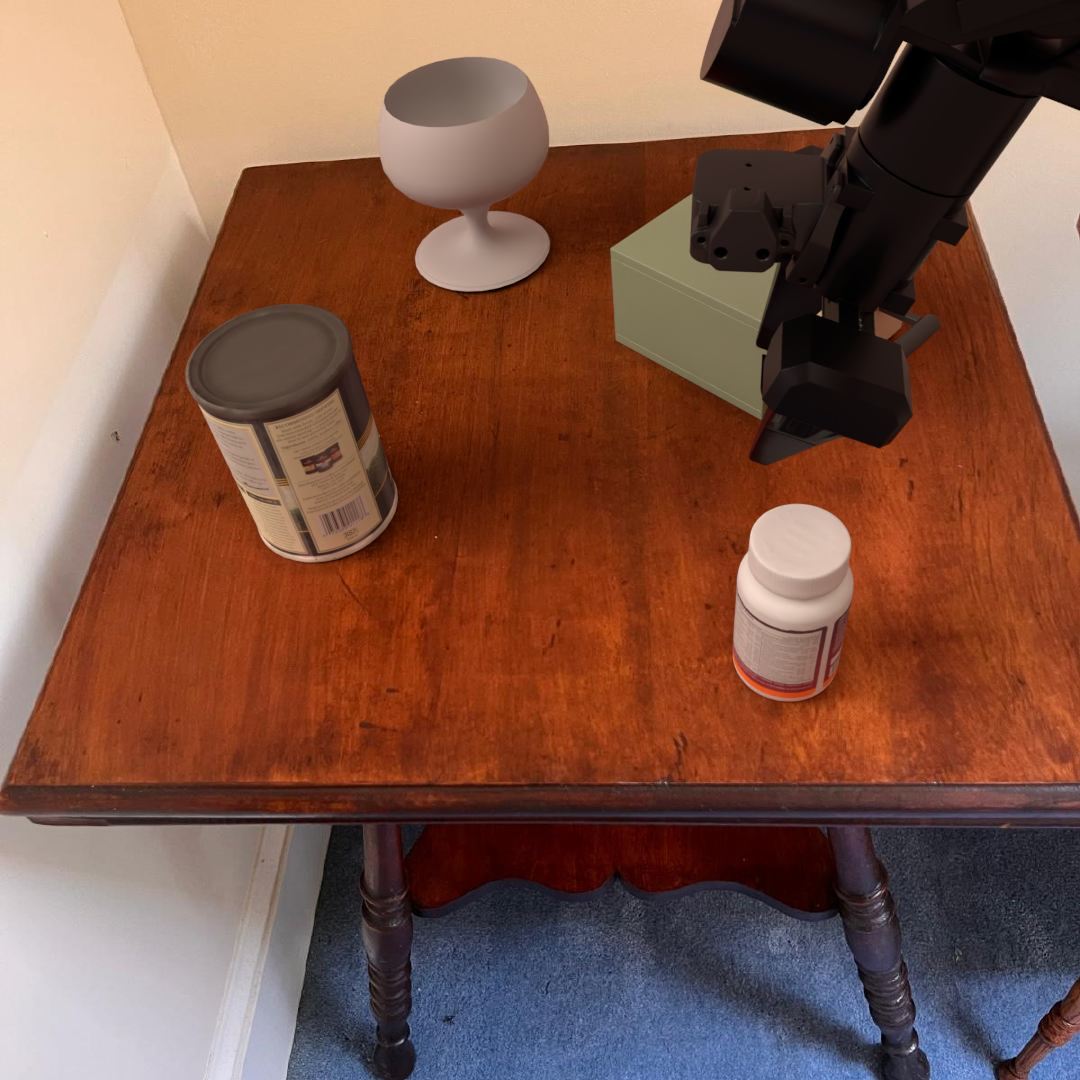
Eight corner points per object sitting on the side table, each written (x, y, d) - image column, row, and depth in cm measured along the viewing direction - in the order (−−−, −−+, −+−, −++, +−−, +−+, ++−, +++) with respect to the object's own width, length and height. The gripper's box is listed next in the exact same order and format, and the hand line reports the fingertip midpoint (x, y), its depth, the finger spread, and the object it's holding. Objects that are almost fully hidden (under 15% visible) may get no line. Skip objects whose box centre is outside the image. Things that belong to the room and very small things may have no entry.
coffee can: (319, 441, 79) (262, 286, 68) (426, 485, 74) (384, 328, 64) (226, 531, 73) (149, 379, 63) (335, 585, 69) (273, 431, 58)
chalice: (591, 234, 93) (578, 68, 82) (497, 320, 86) (470, 152, 75) (470, 196, 99) (443, 37, 88) (374, 273, 92) (331, 112, 81)
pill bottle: (797, 605, 64) (815, 478, 56) (859, 678, 60) (888, 554, 52) (711, 646, 63) (716, 523, 54) (769, 723, 59) (784, 604, 51)
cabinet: (879, 322, 81) (896, 225, 74) (761, 420, 75) (769, 325, 69) (732, 255, 89) (736, 163, 82) (615, 340, 83) (609, 248, 76)
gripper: (754, -4, 50) (641, 253, 62) (734, 213, 38) (599, 478, 50) (963, 77, 51) (812, 314, 63) (1007, 312, 39) (811, 548, 51)
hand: (760, 401), depth 57 cm, fingers open, 9 cm apart
